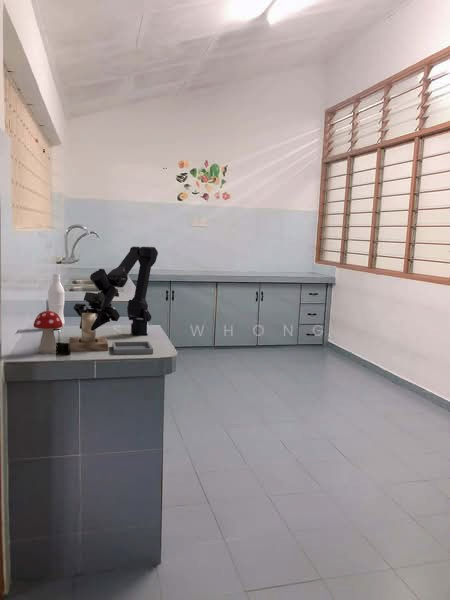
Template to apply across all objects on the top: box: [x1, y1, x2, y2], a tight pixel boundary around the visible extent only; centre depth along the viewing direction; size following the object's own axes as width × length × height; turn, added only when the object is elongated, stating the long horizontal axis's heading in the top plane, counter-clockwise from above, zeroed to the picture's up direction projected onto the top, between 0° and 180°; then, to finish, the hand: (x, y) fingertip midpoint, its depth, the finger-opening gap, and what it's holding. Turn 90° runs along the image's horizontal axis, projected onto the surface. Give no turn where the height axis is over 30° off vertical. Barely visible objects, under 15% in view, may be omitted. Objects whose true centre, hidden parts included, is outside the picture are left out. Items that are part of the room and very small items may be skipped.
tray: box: [111, 341, 154, 356], centre depth 189 cm, size 14×14×2 cm
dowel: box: [81, 313, 97, 342], centre depth 190 cm, size 5×5×13 cm
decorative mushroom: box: [33, 310, 63, 355], centre depth 179 cm, size 10×9×15 cm
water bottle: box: [47, 273, 66, 330], centre depth 225 cm, size 7×7×25 cm
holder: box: [68, 336, 109, 352], centre depth 191 cm, size 14×14×2 cm
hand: (86, 329), depth 189 cm, fingers closed on dowel, 5 cm apart
